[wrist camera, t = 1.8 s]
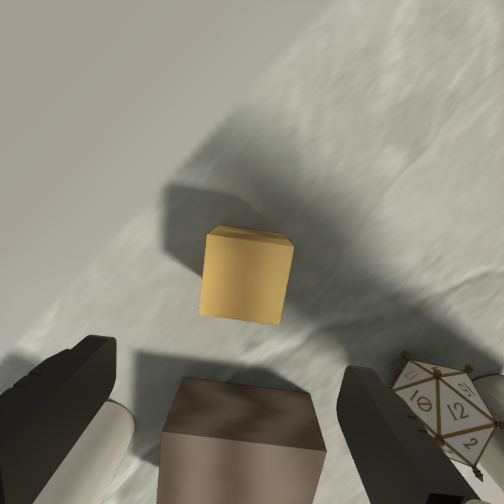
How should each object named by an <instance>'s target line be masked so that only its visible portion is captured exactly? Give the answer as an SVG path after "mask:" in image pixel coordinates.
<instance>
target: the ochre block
mask: <svg viewBox="0 0 504 504" xmlns="http://www.w3.org/2000/svg"><path fill="white" fill-rule="evenodd" d="M293 252H294V246H293V245H292V244H291V242H290V241H289V240H288V239H287V238H286V237H285V235H284V234H279V233H272V232H266V231H259V230H252V229H245V228H238V227H231V226H225V225H219V226H217V227H216V228H215V229H213V230H212V231H211V232H209V233H208V234H207V240H206V250H205V259H204V269H203V278H202V288H201V298H200V307H199V315H207V316H214V317H221V318H229V319H236V320H243V321H251V322H258V323H265V324H273V325H280V319H281V314H282V309H283V304H284V299H285V293H286V288H287V283H288V278H289V272H290V267H291V262H292V257H293Z"/></svg>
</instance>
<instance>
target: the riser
mask: <svg viewBox="0 0 504 504" xmlns="http://www.w3.org/2000/svg"><path fill="white" fill-rule="evenodd" d="M326 453H327V450H326V447H325V443H324V440H323V436H322V433H321V430H320V426H319V423H318V419H317V416H316V413H315V409H314V406H313V402H312V399H311V395H310V394H308V393H301V392H293V391H285V390H277V389H269V388H262V387H254V386H246V385H238V384H230V383H223V382H215V381H207V380H199V379H191V378H184V377H183V379H182V382H181V384H180V387H179V389H178V392H177V394H176V397H175V399H174V402H173V404H172V407H171V410H170V412H169V415H168V417H167V420H166V422H165V425H164V427H163V430H162V436H161V450H160V463H159V476H158V489H157V502H156V504H312V503H313V499H314V496H315V492H316V489H317V485H318V482H319V478H320V475H321V471H322V467H323V464H324V460H325V457H326Z"/></svg>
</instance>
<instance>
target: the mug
mask: <svg viewBox="0 0 504 504" xmlns="http://www.w3.org/2000/svg"><path fill="white" fill-rule="evenodd" d="M134 430H135V422H134V419H133V417H132V415H131V414H130V412H129V411H128V410H127V409H125V408H124V407H123V406H121V405H119V404H117V403H114V402H109V401H106V402H105V403H104V404H103V406H102V407H101V409H100V410H99V411H98V413H97V414H96V416H95V417H94V418H93V420H92V421H91V423H90V424H89V425H88V427H87V428H86V430H85V431H84V432H83V434H82V435H81V437H80V438H79V439H78V441H77V442H76V444H75V445H74V446H73V448H72V449H71V451H70V452H69V453H68V455H67V456H66V458H65V459H64V460H63V462H62V463H61V465H60V466H59V468H58V469H57V470H56V472H55V473H54V475H53V476H52V477H51V479H50V480H49V482H48V483H47V484H46V486H45V487H44V489H43V490H42V491H41V493H40V494H39V496H38V497H37V498H36V500H35V501H34V503H33V504H100V502H101V500H102V498H103V496H104V494H105V492H106V490H107V488H108V486H109V484H110V482H111V480H112V477H113V475H114V473H115V471H116V469H117V467H118V465H119V463H120V461H121V459H122V457H123V455H124V453H125V450H126V448H127V446H128V444H129V442H130V440H131V438H132V436H133V433H134Z"/></svg>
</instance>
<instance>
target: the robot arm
mask: <svg viewBox="0 0 504 504" xmlns="http://www.w3.org/2000/svg"><path fill="white" fill-rule="evenodd" d="M116 348H117V344H116V339H115V338H114V337H107V336H98V335H88V336H87V337H85V338H84V339H83V340H82V341H80V342H79V343H78V344H77V345H76V346H74V347H73V348H72V349H65V350H63V351H61V352H59V353H57V354H55V355H53V356H51V357H49V358H47V359H46V360H44V361H43V362H42V363H40V364H39V365H38V366H37V367H35V368H34V369H33V370H32V371H30V372H29V374H28V375H27V376H24V377H23V378H21V379H20V380H19V381H18V382H16V383H15V384H14V385H13V387H12V388H9V389H7V390H6V391H5V392H4V393H2V394H1V395H0V504H33V503H34V501H35V500H36V498H37V497H38V496H39V494H40V493H41V491H42V490H43V489H44V487H45V486H46V484H47V483H48V482H49V480H50V479H51V477H52V476H53V475H54V473H55V472H56V470H57V469H58V468H59V466H60V465H61V463H62V462H63V460H64V459H65V458H66V456H67V455H68V453H69V452H70V451H71V449H72V448H73V446H74V445H75V444H76V442H77V441H78V439H79V438H80V437H81V435H82V434H83V432H84V431H85V430H86V428H87V427H88V425H89V424H90V423H91V421H92V420H93V418H94V417H95V416H96V414H97V413H98V411H99V410H100V409H101V407H102V406H103V404H104V403H105V402H106V400H107V399H108V397H109V396H110V394H111V392H112V390H113V387H114V384H115V380H116ZM473 383H474V384H475V386H476V388H477V389H478V391H479V393H480V394H481V396H482V397H483V399H484V401H485V402H486V404H487V406H488V407H489V409H490V411H491V412H492V414H493V416H494V417H495V419H496V421H502V422H504V375H492V376H487V377H483V378H480V379H477V380H475V381H473ZM336 410H337V418H338V422H339V425H340V427H341V430H342V432H343V435H344V437H345V440H346V442H347V445H348V447H349V450H350V452H351V455H352V457H353V460H354V462H355V465H356V468H357V470H358V473H359V475H360V478H361V480H362V483H363V485H364V488H365V490H366V493H367V495H368V498H369V500H370V503H371V504H490V503H488V502H485V501H482V500H481V499H480V498H479V497H478V495H477V494H476V493H475V492H474V490H473V489H472V488H471V487H470V485H469V484H468V482H467V481H466V480H465V478H464V477H463V476H462V475H461V473H460V472H459V471H458V469H457V468H456V467H455V465H454V464H453V463H452V462H451V460H450V459H449V458H448V456H447V455H446V454H445V452H444V451H443V450H442V448H441V447H440V446H439V445H438V443H437V442H436V441H435V439H434V438H433V437H432V435H431V434H428V430H427V429H426V428H425V426H424V425H423V424H422V422H421V421H420V420H418V419H417V416H416V415H415V413H414V412H413V411H412V409H411V408H410V407H409V405H408V404H407V403H406V402H405V400H404V399H402V398H401V397H400V396H399V395H398V394H397V393H395V392H394V391H393V390H392V389H391V388H390V387H388V386H385V385H384V384H383V382H382V381H381V379H380V378H379V377H378V375H377V374H376V373H375V371H374V370H373V369H371V368H365V367H356V366H348V367H347V368H346V370H345V373H344V377H343V381H342V384H341V388H340V392H339V395H338V399H337V406H336ZM478 462H479V463H480V464H481V466H482V467H483V468H484V469H485V470H486V472H487V473H488V474H489V475H490V476H491V477H492V479H493V480H494V481H495V482H496V483H497V484H498V486H499V487H500V488H501V489H502V490H503V491H504V429H501V428H500V427H497V428H496V430H495V432H494V434H493V436H492V438H491V439H490V441H489V443H488V445H487V447H486V449H485V450H484V452H483V454H482V456H481V458H480V460H479V461H478Z"/></svg>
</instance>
